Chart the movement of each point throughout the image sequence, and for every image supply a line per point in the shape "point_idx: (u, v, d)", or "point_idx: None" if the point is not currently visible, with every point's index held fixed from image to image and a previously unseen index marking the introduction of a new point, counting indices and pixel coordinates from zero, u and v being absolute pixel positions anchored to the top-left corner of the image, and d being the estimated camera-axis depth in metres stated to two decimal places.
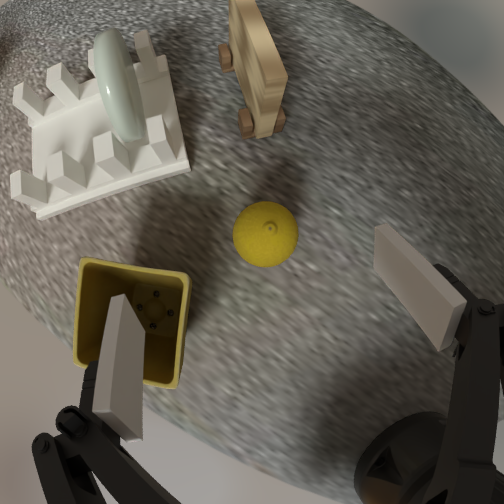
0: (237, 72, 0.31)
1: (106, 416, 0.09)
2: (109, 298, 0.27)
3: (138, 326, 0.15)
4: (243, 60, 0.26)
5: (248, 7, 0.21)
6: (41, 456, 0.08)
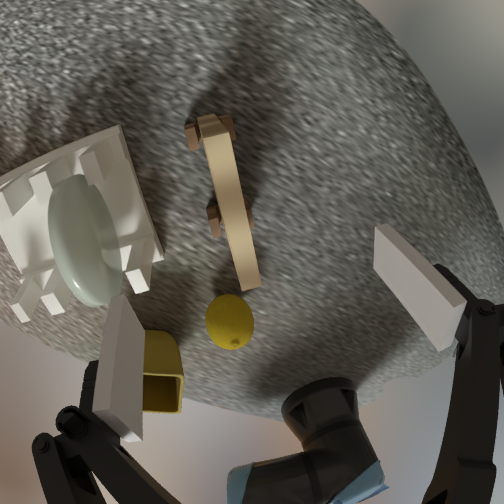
0: None
1: (106, 416, 0.09)
2: None
3: (138, 326, 0.15)
4: None
5: (229, 190, 0.21)
6: (41, 456, 0.08)
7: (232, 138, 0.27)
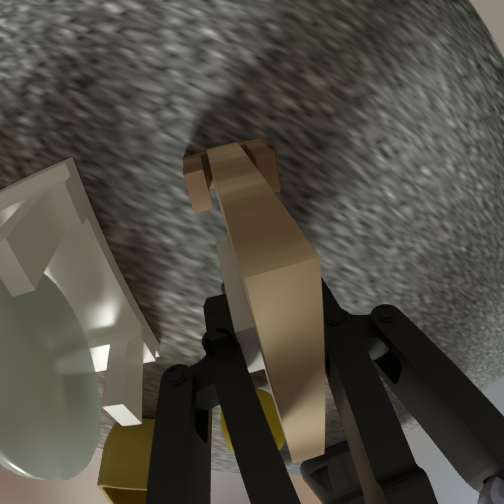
0: (225, 226, 0.17)
1: (246, 337, 0.12)
2: None
3: None
4: None
5: (299, 371, 0.09)
6: (170, 387, 0.10)
7: (273, 189, 0.15)
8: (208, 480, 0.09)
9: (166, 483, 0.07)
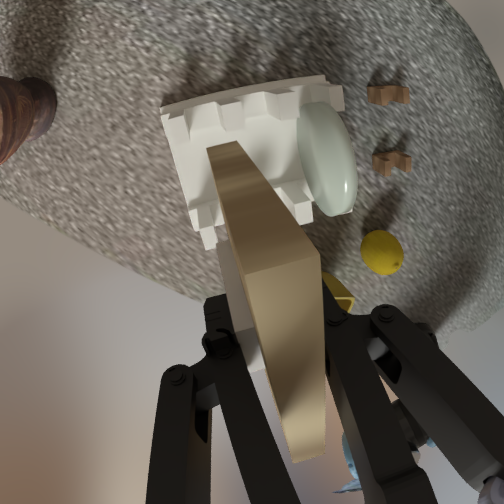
0: (225, 225, 0.17)
1: (246, 337, 0.12)
2: None
3: None
4: None
5: (299, 370, 0.09)
6: (170, 388, 0.10)
7: (407, 102, 0.32)
8: (208, 480, 0.09)
9: (166, 483, 0.07)
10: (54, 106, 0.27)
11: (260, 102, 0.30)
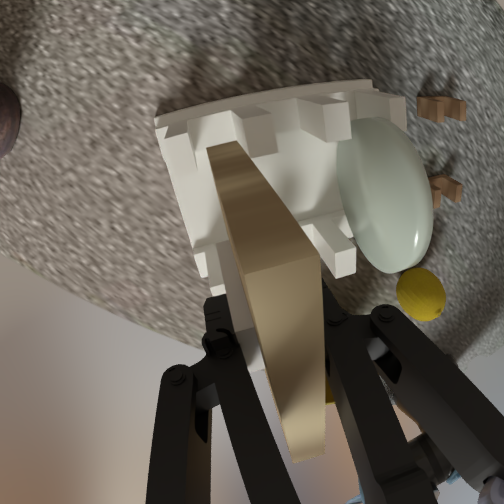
0: (225, 225, 0.17)
1: (246, 337, 0.12)
2: None
3: None
4: None
5: (299, 370, 0.09)
6: (170, 387, 0.10)
7: (463, 118, 0.24)
8: (208, 480, 0.09)
9: (166, 483, 0.07)
10: (17, 117, 0.19)
11: (291, 113, 0.23)
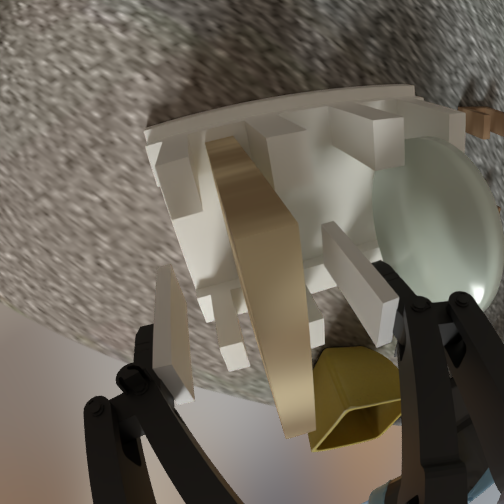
0: None
1: (166, 373, 0.11)
2: None
3: (182, 296, 0.17)
4: (244, 292, 0.15)
5: (285, 334, 0.10)
6: (92, 419, 0.09)
7: None
8: (153, 501, 0.08)
9: None
10: None
11: (322, 125, 0.18)
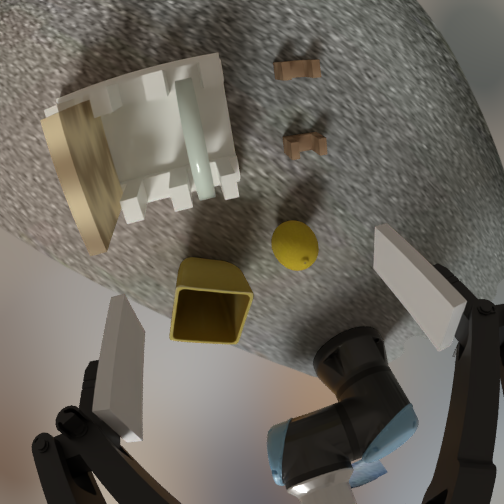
0: None
1: (106, 416, 0.09)
2: None
3: (138, 326, 0.15)
4: None
5: (63, 162, 0.20)
6: (41, 456, 0.08)
7: (318, 75, 0.30)
8: None
9: None
10: None
11: None
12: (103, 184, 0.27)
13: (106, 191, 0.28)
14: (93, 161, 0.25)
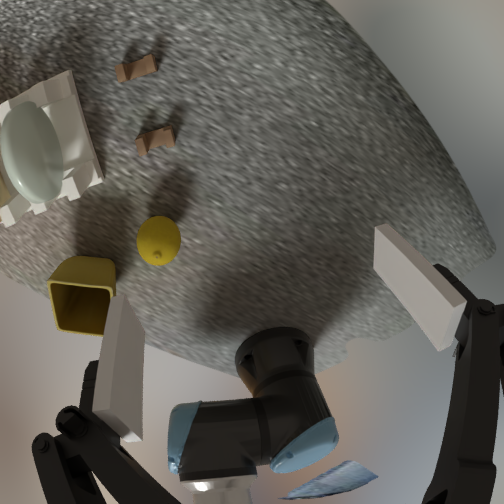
0: None
1: (106, 416, 0.09)
2: None
3: (138, 326, 0.15)
4: None
5: None
6: (41, 456, 0.08)
7: (152, 70, 0.29)
8: None
9: None
10: None
11: None
12: None
13: None
14: None
